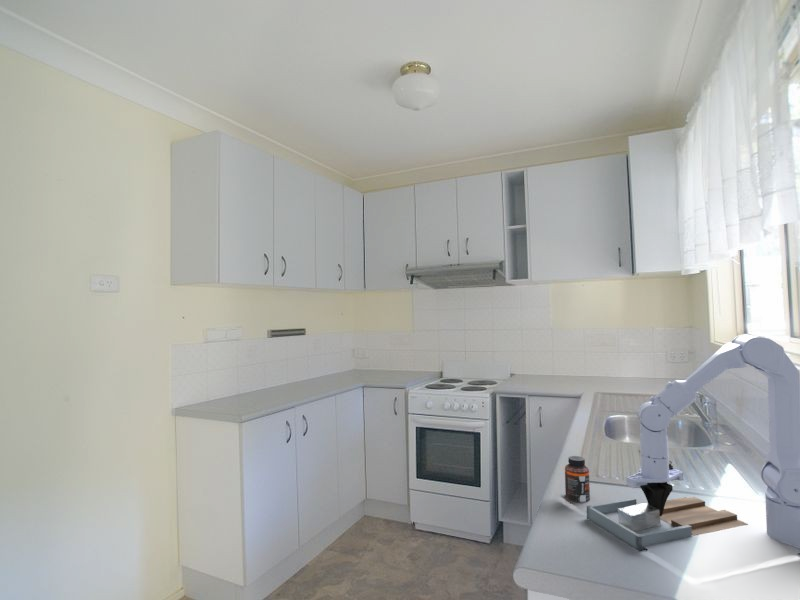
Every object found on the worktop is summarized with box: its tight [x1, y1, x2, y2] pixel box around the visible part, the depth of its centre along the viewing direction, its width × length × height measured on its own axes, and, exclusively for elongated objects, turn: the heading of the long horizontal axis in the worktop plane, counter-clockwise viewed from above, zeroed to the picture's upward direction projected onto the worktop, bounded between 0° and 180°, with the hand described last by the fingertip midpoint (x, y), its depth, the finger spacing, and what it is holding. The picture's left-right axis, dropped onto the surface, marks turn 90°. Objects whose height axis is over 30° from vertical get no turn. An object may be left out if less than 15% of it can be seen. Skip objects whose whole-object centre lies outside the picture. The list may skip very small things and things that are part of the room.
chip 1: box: [617, 506, 648, 532], centre depth 104 cm, size 4×4×4 cm
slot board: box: [660, 496, 749, 536], centre depth 109 cm, size 16×16×2 cm
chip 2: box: [632, 502, 661, 529], centre depth 105 cm, size 4×4×4 cm
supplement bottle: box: [564, 455, 591, 504], centre depth 120 cm, size 6×6×11 cm
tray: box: [586, 497, 693, 553], centre depth 105 cm, size 16×14×3 cm
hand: (656, 514), depth 106 cm, fingers closed
